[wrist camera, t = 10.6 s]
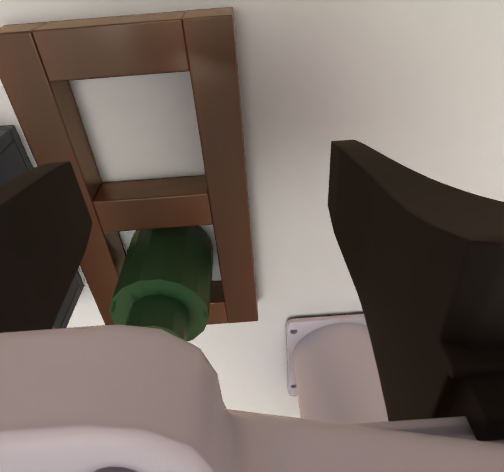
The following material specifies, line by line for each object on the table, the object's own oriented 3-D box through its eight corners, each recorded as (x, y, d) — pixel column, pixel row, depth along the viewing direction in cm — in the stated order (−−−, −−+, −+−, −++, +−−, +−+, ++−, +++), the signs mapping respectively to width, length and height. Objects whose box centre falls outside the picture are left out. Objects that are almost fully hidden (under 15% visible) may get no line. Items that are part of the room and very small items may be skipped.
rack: (232, 7, 18) (232, 14, 16) (256, 299, 28) (258, 321, 27) (3, 25, 18) (-20, 34, 16) (114, 309, 28) (107, 331, 27)
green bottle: (217, 275, 27) (212, 374, 21) (142, 280, 27) (115, 380, 21) (207, 212, 24) (197, 307, 18) (122, 219, 24) (85, 315, 18)
